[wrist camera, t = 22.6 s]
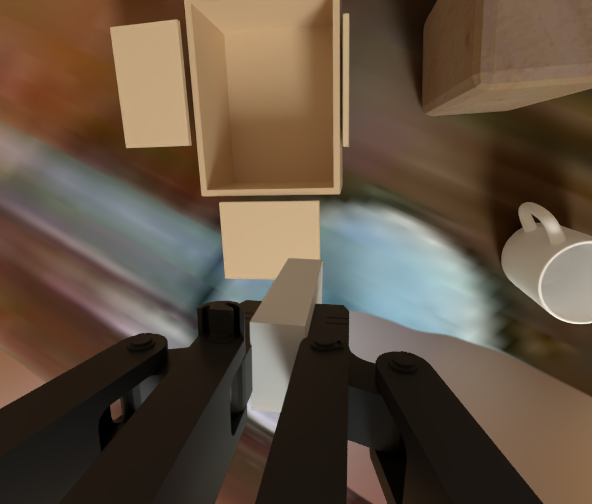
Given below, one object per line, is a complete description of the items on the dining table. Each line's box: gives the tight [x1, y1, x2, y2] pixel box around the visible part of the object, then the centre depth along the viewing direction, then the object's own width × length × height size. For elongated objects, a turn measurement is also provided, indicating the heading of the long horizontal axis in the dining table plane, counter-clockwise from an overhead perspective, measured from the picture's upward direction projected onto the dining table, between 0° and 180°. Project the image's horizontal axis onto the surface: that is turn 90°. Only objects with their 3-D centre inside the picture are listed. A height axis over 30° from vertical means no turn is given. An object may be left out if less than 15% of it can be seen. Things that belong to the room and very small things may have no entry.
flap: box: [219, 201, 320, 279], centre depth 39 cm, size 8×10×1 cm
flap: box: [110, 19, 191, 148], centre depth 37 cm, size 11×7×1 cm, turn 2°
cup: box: [501, 202, 592, 324], centre depth 40 cm, size 8×12×10 cm
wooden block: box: [422, 0, 592, 116], centre depth 32 cm, size 10×10×20 cm
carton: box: [184, 0, 350, 196], centre depth 40 cm, size 19×15×10 cm
